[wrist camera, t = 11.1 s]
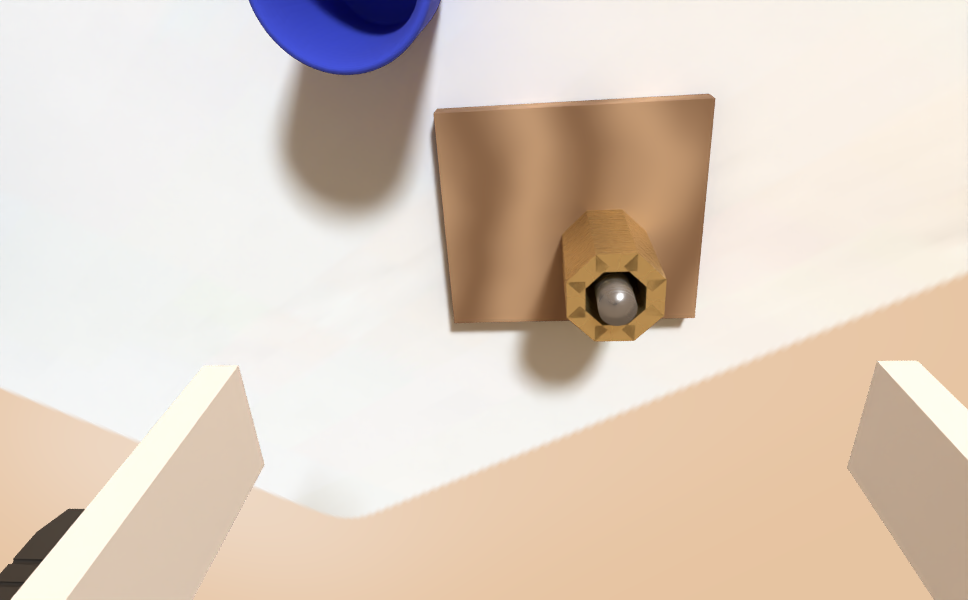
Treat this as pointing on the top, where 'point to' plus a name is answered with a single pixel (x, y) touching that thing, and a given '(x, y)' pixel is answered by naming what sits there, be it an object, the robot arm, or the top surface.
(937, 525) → the robot arm
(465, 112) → the board
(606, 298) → the post
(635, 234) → the bushing
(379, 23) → the mug
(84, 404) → the top surface
